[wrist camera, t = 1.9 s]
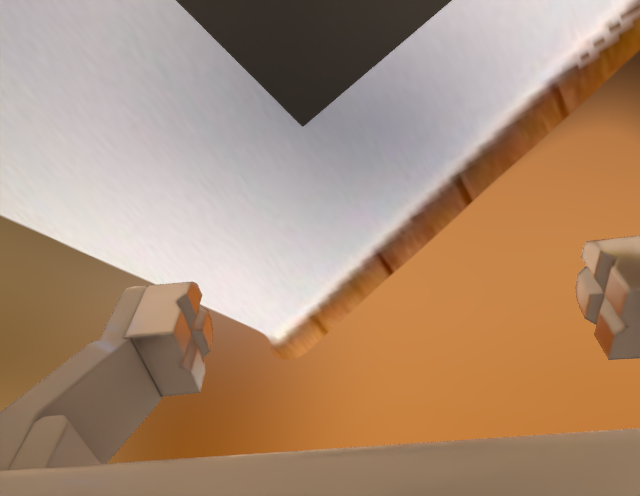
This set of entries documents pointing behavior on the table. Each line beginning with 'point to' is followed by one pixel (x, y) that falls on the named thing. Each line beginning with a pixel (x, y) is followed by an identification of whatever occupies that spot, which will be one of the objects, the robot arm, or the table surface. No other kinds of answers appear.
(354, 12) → the rubber mat
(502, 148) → the table surface
